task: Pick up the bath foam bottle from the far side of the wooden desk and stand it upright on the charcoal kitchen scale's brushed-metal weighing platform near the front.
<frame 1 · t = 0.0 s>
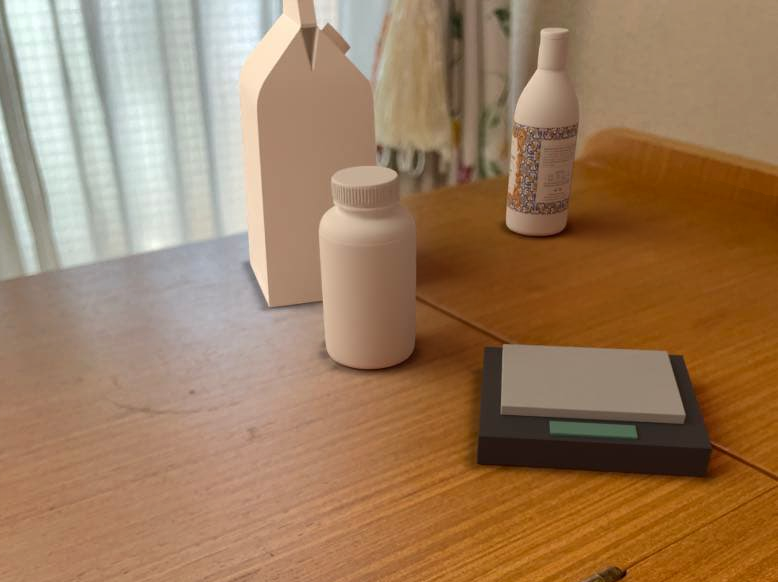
scale: (583, 419, 67), on the table
milk: (314, 279, 90), on the table
pill bottle: (370, 352, 77), on the table
bath foam: (535, 229, 101), on the table
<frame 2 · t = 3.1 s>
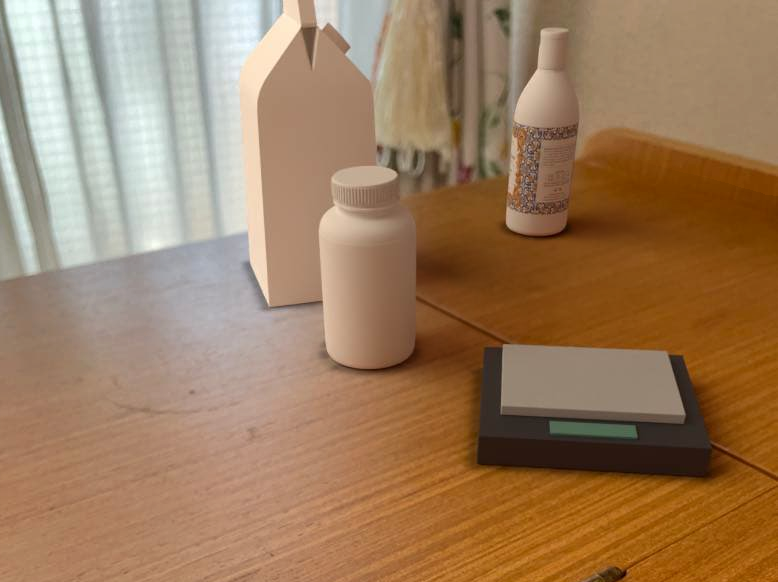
nothing on the table moved.
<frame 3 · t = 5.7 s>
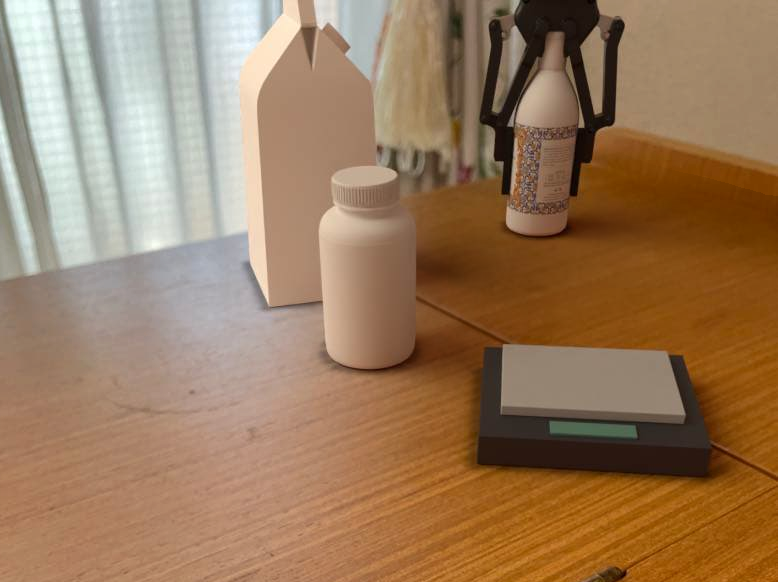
hand: (538, 191, 98), 4 cm above the table, tool pointing down, fingers closed on bath foam, 7 cm apart
bath foam: (535, 229, 101), on the table, touching gripper
everything else where it was.
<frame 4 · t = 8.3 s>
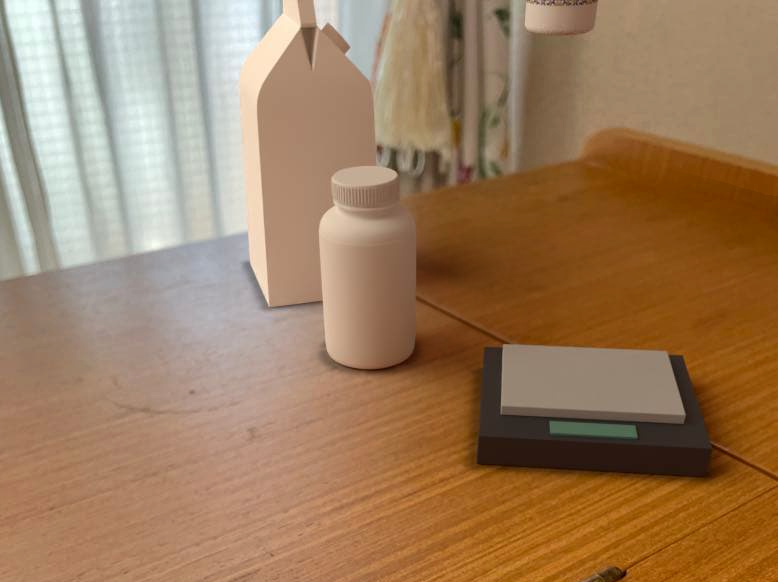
bath foam: (558, 32, 87), point 20 cm above the table, touching gripper
everything else where it was.
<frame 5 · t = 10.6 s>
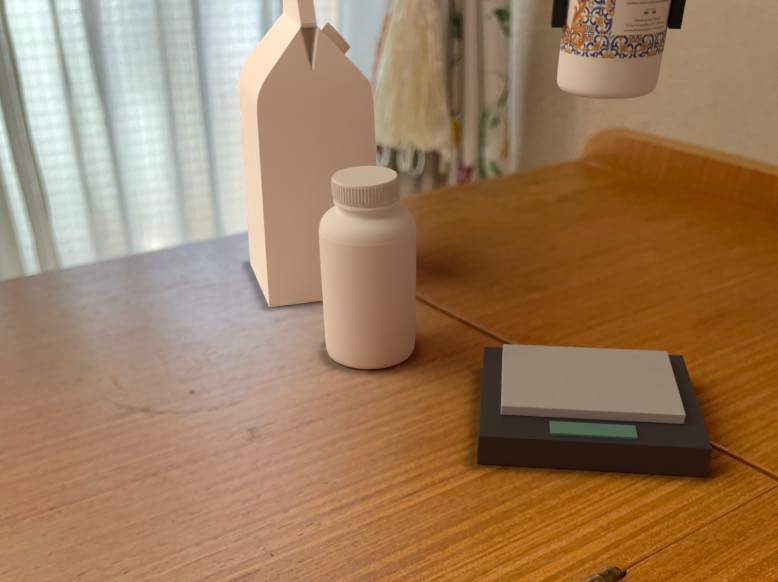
hand: (614, 24, 59), 25 cm above the table, tool pointing down, fingers closed on bath foam, 7 cm apart
bath foam: (604, 93, 62), point 21 cm above the table, touching gripper
everything else where it was.
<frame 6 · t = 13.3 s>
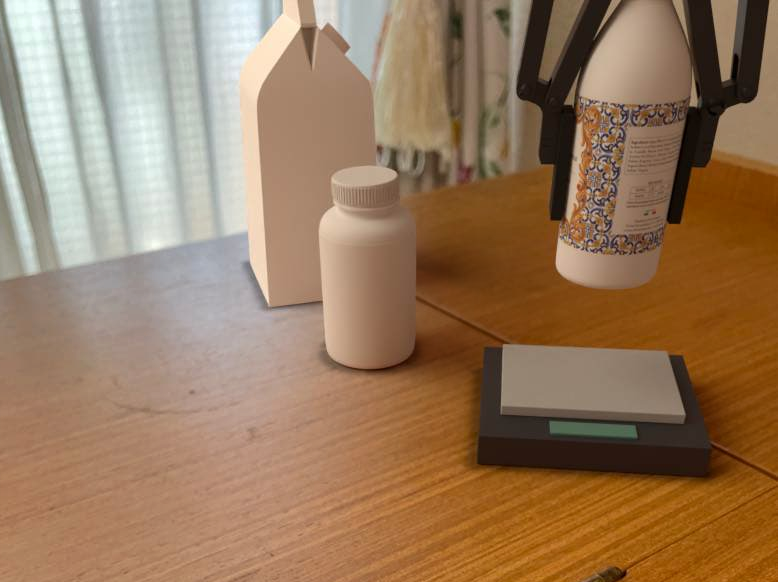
hand: (613, 215, 59), 15 cm above the table, tool pointing down, fingers closed on bath foam, 7 cm apart
bath foam: (603, 275, 61), point 11 cm above the table, touching gripper
everything else where it was.
when the fingers open (7 cm above the table, at t = 15.5 s): bath foam stays where it is, resting on scale.
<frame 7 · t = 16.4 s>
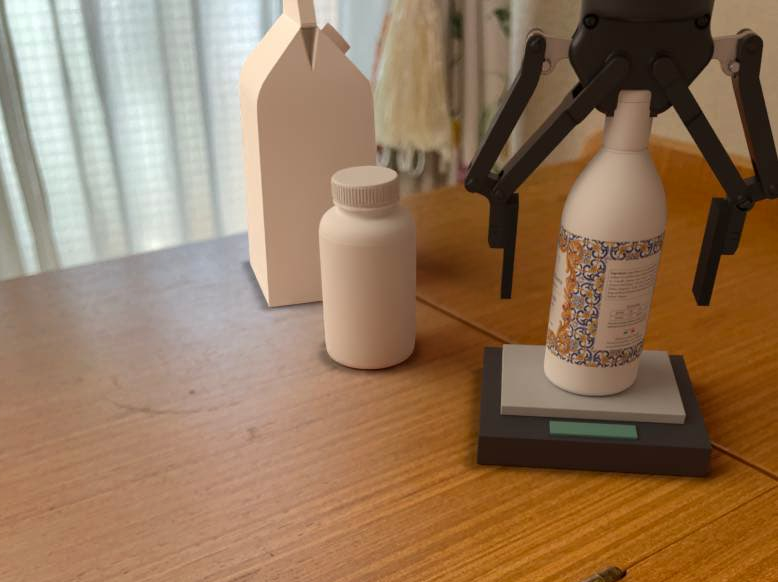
hand: (601, 295, 62), 10 cm above the table, tool pointing down, fingers open, 13 cm apart
bath foam: (588, 378, 66), point 3 cm above the table, touching scale
everything else where it was.
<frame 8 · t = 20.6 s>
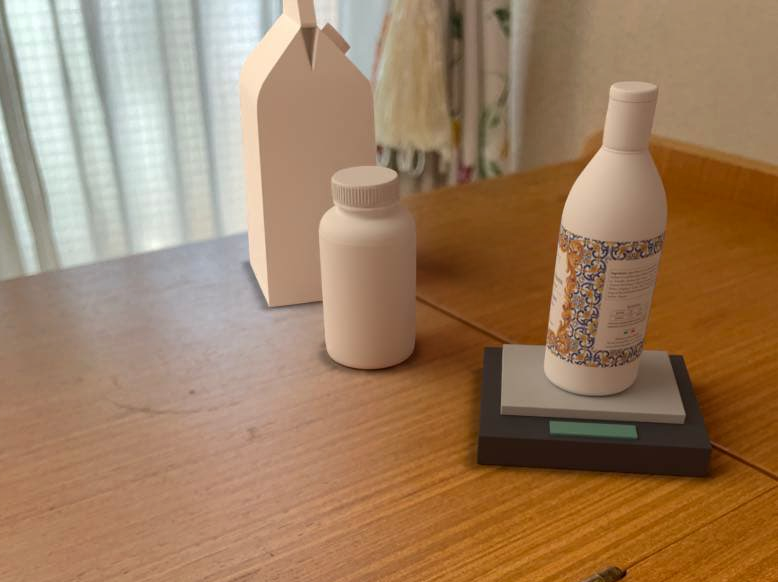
nothing on the table moved.
at the end: bath foam inside the target area on the scale (0.0 cm from its centre), point 3.0 cm above the scale's base; bath foam tilted 0°; the gripper is holding nothing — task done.
